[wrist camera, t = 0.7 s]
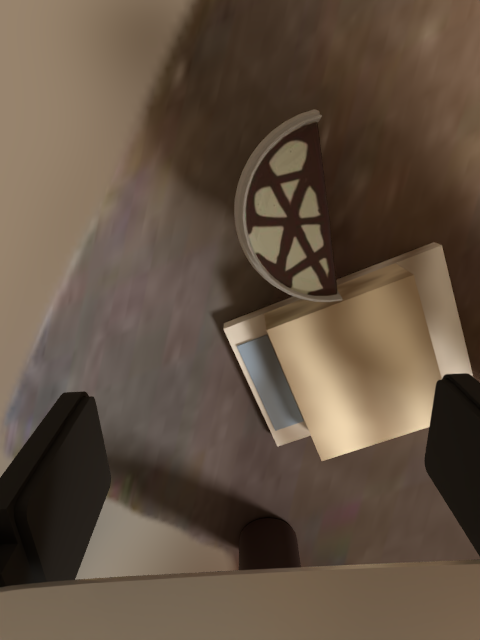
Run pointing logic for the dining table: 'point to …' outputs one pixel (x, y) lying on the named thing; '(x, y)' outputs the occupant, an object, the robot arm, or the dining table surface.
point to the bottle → (268, 545)
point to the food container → (288, 211)
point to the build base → (355, 355)
